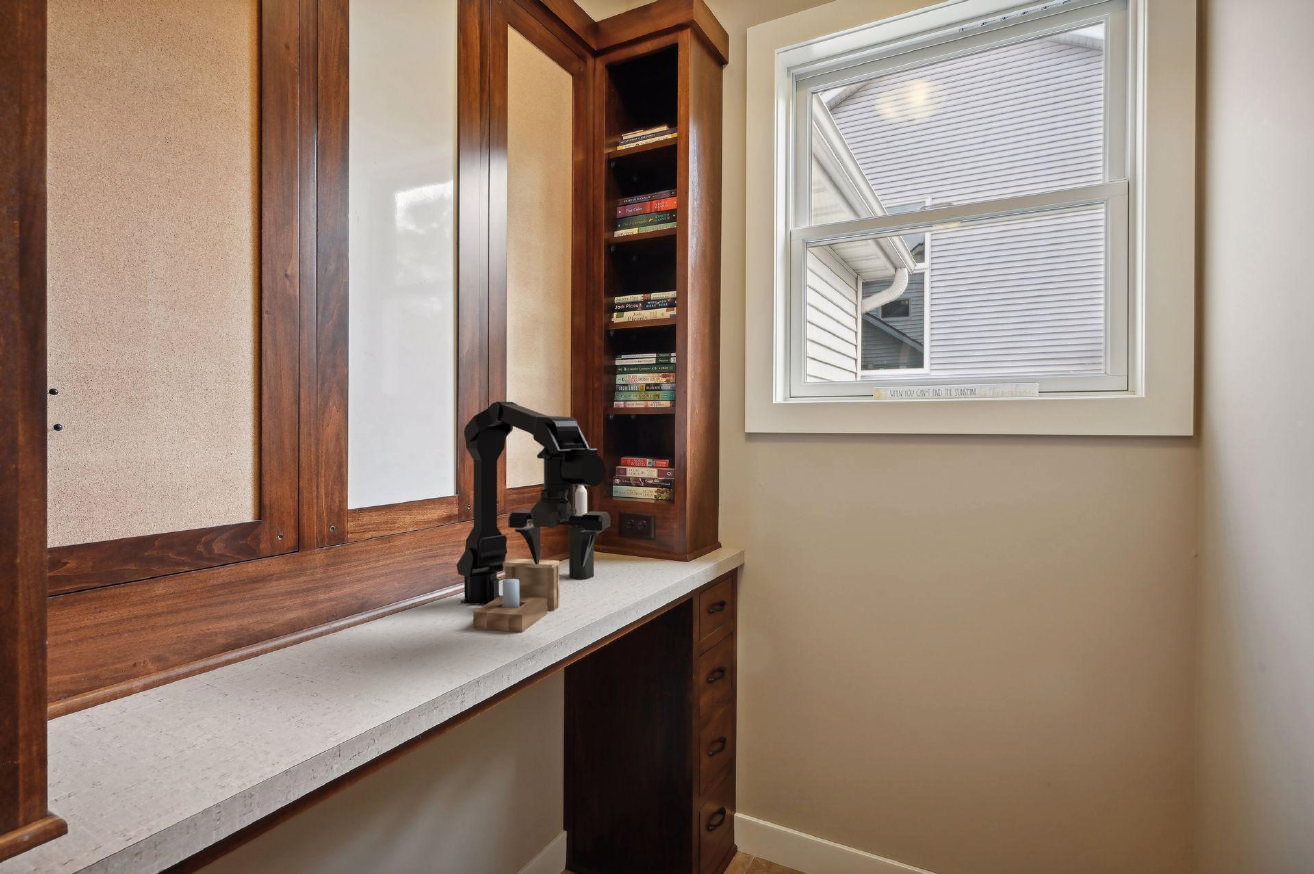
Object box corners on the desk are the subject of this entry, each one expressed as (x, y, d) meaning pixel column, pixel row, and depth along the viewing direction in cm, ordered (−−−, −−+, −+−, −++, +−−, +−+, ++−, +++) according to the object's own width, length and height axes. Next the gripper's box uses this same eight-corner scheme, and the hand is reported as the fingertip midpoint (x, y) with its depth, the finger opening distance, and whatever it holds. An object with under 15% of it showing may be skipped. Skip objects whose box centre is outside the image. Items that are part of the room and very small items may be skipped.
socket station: (471, 628, 127) (470, 577, 127) (511, 603, 144) (511, 558, 144) (524, 632, 125) (524, 580, 124) (559, 606, 142) (559, 560, 141)
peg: (500, 622, 130) (499, 582, 130) (507, 618, 134) (507, 578, 133) (515, 624, 130) (514, 583, 129) (522, 619, 133) (522, 579, 133)
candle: (567, 577, 167) (566, 478, 167) (578, 573, 172) (578, 476, 171) (584, 580, 165) (583, 479, 164) (595, 575, 169) (595, 477, 169)
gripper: (494, 486, 121) (494, 572, 121) (592, 488, 116) (592, 577, 117) (520, 480, 132) (521, 559, 132) (611, 482, 127) (611, 563, 128)
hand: (559, 565), depth 127 cm, fingers open, 9 cm apart
